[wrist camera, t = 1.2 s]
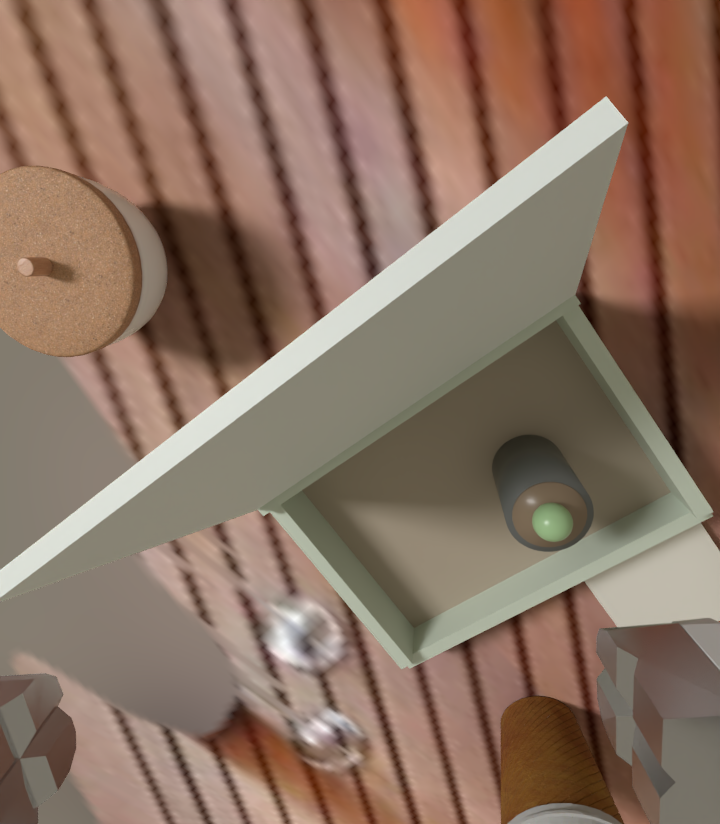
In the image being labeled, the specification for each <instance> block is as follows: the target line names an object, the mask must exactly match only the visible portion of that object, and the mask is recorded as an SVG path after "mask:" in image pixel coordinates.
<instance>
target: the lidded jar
mask: <svg viewBox="0 0 720 824" xmlns="http://www.w3.org/2000/svg"><path fill="white" fill-rule="evenodd" d="M167 280H168V267H167V258H166V254H165V250H164V247H163V244H162V242H161V239H160V237H159V235H158V233H157V232H156V230H155V228H154V226H153V225H152V224H151V222H150V221H149V220H148V219H147V217H146V216H145V215H144V214H143V213H142V212H141V211H140V210H139V209H138V208H137V207H136V206H135V205H134V204H133V203H132V202H130V201H129V200H128V199H126V198H125V197H124V196H122V195H121V194H119V193H118V192H116V191H114V190H112V189H110V188H108V187H106V186H104V185H102V184H100V183H97V182H95V181H92V180H89V179H86V178H83V177H79V176H76V175H74V174H71V173H68V172H65V171H62V170H59V169H55V168H49V167H43V166H22V167H18V168H14V169H10V170H8V171H6V172H3V173H1V174H0V328H1V329H3V330H4V331H5V332H6V333H7V334H8V335H9V336H11V337H12V338H14V339H15V340H16V341H18V342H20V343H21V344H23V345H25V346H26V347H28V348H30V349H32V350H35V351H38V352H40V353H43V354H47V355H52V356H57V357H74V356H80V355H85V354H88V353H91V352H94V351H97V350H100V349H102V348H104V347H106V346H108V345H111V344H114V343H116V342H119V341H121V340H123V339H125V338H126V337H128V336H130V335H132V334H133V333H135V332H137V331H138V330H139V329H140V328H141V327H142V326H144V325H145V324H146V323H147V322H148V321H149V320H150V319H151V318H152V317H153V315H154V314H155V313H156V311H157V309H158V307H159V306H160V304H161V302H162V300H163V297H164V294H165V291H166V286H167Z"/></svg>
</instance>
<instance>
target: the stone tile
mask: <svg viewBox="0 0 720 824" xmlns="http://www.w3.org/2000/svg"><path fill="white" fill-rule="evenodd" d="M584 582H585V583H586V584H587V586H588V587H589V588H590V590H591V591H592V593H593V594H594V595H595V597H596V598H597V599H598V601H599V602H600V604H601V605H602V606H603V608H604V609H605V610H606V612H607V613H608V615H609V616H610V617H611V619H612V620H613V621H614V623H615V624H616V625H617V627H626V626H637V625H648V624H660V623H672V622H673V621H682V620H691V619H701V618H712V619H714V620H716V621H720V551H719V550H718V548H717V546H716V545H715V543H714V542H713V540H712V539H711V537H710V536H709V534H708V533H707V531H706V530H705V528H704V527H703V525H702V524H701V523H699V524H697V525H695V526H693V527H691V528H689V529H687V530H685V531H683V532H681V533H679V534H677V535H675V536H673V537H671V538H669V539H667V540H665V541H663V542H661V543H659V544H657V545H655V546H653V547H651V548H649V549H647V550H645V551H643V552H641V553H639V554H637V555H635V556H633V557H631V558H629V559H627V560H625V561H623V562H621V563H619V564H617V565H615V566H613V567H611V568H609V569H607V570H605V571H603V572H601V573H599V574H597V575H595V576H593V577H591V578H589V579H587V580H585V581H584Z"/></svg>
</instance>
